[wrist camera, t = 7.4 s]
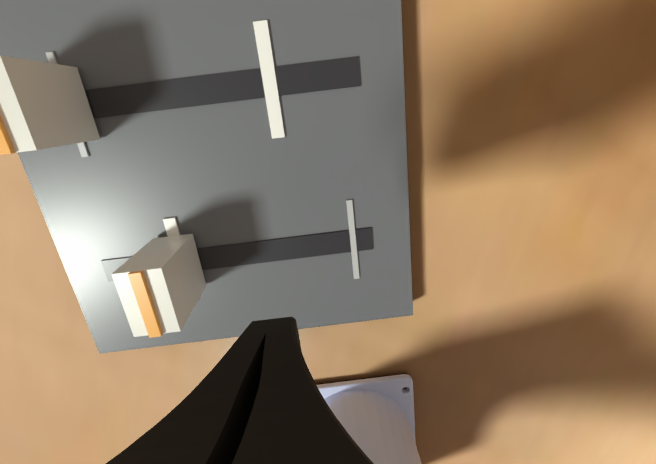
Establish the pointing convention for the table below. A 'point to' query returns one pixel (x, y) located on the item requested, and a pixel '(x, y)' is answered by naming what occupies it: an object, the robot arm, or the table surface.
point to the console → (229, 155)
